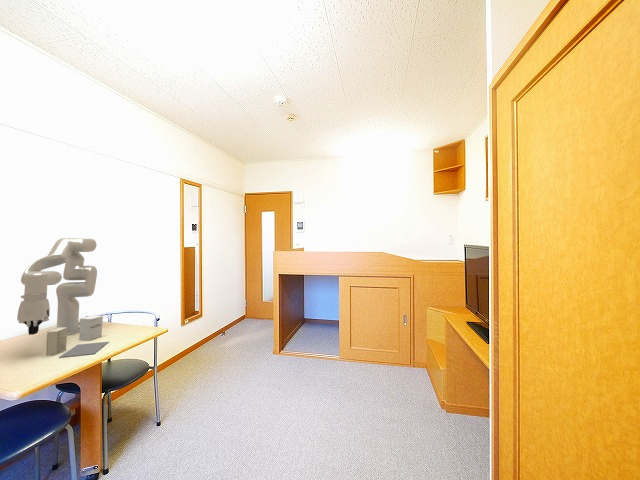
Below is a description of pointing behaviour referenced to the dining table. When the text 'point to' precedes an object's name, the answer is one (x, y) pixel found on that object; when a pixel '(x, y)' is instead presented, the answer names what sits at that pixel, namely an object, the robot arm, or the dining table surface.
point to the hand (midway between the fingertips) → (33, 333)
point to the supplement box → (90, 327)
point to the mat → (84, 349)
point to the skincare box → (56, 341)
